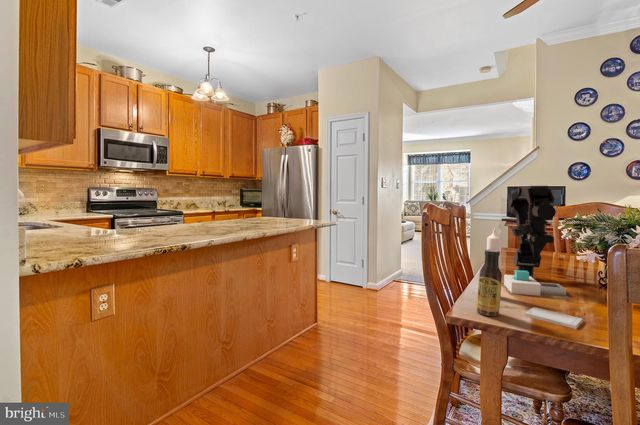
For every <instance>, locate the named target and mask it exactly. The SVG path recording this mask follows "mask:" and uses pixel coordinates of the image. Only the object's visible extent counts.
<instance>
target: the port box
mask: <svg viewBox="0 0 640 425" xmlns="http://www.w3.org/2000/svg"><path fill="white" fill-rule="evenodd" d="M503 283H504V285H505V286H506V287H507V289H508V290H509V291H510V292H511V293H515V294H526V295H538V296H540V292H541V284H539V283H538V281H537V280H536V279H535V278H534V279H533V278H532V277H531V276H529V281H520V280H514V274H504V276H503ZM507 289H506V290H507ZM508 290H507V291H508Z"/></svg>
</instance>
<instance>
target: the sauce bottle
mask: <svg viewBox="0 0 640 425" xmlns="http://www.w3.org/2000/svg"><path fill="white" fill-rule="evenodd" d="M499 256H500V251H498V250H492V249H487V248H485V250H484V262H483V263H484V264H483V265H482V267H481V268H480V270H479V276H478V286H477V300H476V312H478V313H479V314H480V315H482V316H485V317H486V316H487V317H496V316H497V317H498V316H499V312H500V309H501V293H502V285H503V284H502V283H503V282H502V280H503V278H502V277H503V273H502V270H501V271H500V269H499V267H498V265H499V263H498V261H499Z"/></svg>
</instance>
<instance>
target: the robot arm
mask: <svg viewBox="0 0 640 425" xmlns="http://www.w3.org/2000/svg"><path fill="white" fill-rule="evenodd" d="M521 196H522V197H521ZM508 201H509V202H508V207H509V208H510V212H511V213H512V214H513V215H514V216H515V218H516V226H512V227H510V230H511V232H512V236H514V237H518V241H519V242H518V243H519V245H518V248H517V249H516V252H515V254H514V257H513V265H514V266H515V267H517V270H522V271H528V272H529V276H531V277H532V278H533V279H534V280H535V268H538V269H539V268H540V266H541V260H542V256H541V254H542V251H543V250H544V248H545V247H546V245H547V244H555V237H554V236H553V235H552V234H549V233H548V231H546V229H547V226H546V225H548V223H549V221H548V220H552V219H553V218H554V217H555V216H556V215H557V210H556V208H555V206H553V205H551V204H554V201H555V196H554V194H553V191H552V189H551V188H550V186H549V185H528V186H518V187H517V189H516V191H515V192H513V193H512V194H511V195H510V198H509V200H508Z"/></svg>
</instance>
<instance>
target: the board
mask: <svg viewBox="0 0 640 425" xmlns="http://www.w3.org/2000/svg"><path fill="white" fill-rule="evenodd" d="M501 285H503V287H504V288H505V289H506V290H507V292H508V293H509V294H510V295H511V296H520V297H531V298H543V299H554V300H565V301H573V298H571V297H570V296H568V295H567V294H566V296H561V295H549V294H540V296H538V295H526V294H515V293H511V292H510V291H509V290H508V289H507V287H506V286H505V285H504V282H502V284H501Z"/></svg>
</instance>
